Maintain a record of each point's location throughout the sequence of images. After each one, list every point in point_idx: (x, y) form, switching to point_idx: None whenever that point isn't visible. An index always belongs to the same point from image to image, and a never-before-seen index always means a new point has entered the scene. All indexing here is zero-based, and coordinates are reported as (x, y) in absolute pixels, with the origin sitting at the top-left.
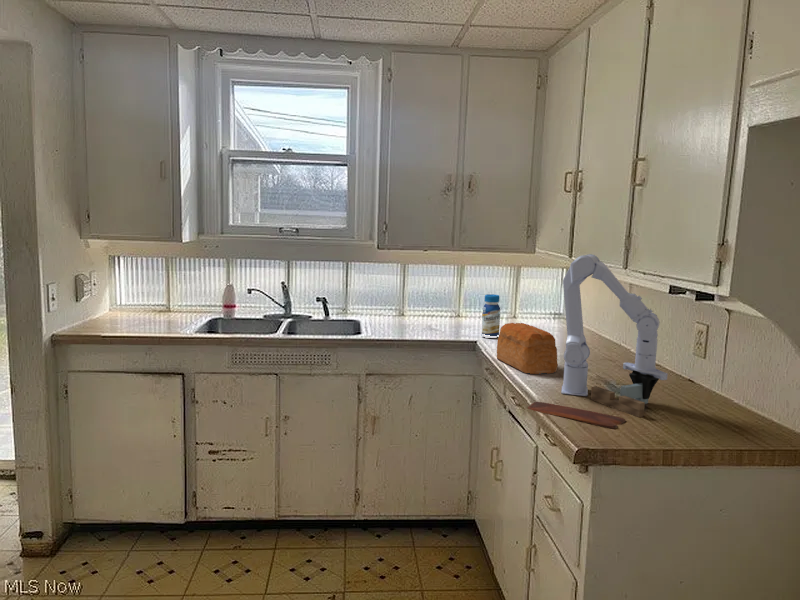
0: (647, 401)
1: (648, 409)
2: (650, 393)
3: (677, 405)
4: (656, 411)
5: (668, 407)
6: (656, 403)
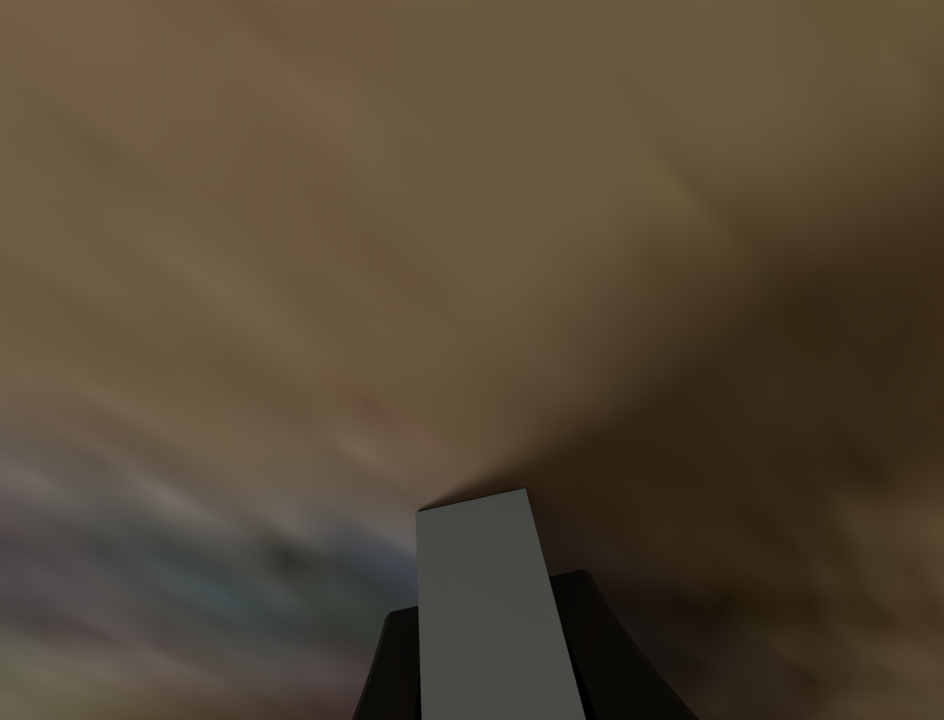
0: (533, 522)
1: (762, 630)
2: (625, 636)
3: (813, 20)
4: (870, 585)
5: (822, 302)
6: (572, 359)
